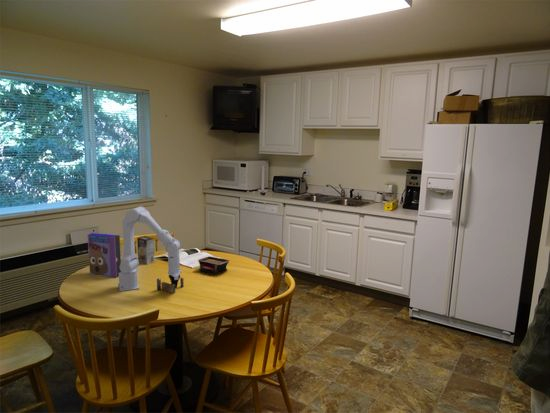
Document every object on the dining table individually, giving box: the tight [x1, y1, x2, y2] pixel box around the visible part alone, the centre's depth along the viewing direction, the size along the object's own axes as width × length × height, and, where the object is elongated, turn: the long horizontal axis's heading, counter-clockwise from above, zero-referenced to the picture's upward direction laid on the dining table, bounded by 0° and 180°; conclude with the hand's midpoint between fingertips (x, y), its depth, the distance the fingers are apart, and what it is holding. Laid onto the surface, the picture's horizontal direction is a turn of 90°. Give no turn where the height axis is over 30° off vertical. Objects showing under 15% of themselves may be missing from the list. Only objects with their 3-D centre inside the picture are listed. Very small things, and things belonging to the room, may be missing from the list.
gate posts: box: [156, 277, 184, 292], centre depth 200 cm, size 14×2×6 cm, turn 114°
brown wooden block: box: [161, 281, 176, 294], centre depth 196 cm, size 8×2×4 cm, turn 60°
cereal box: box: [86, 232, 122, 279], centre depth 216 cm, size 17×5×24 cm, turn 76°
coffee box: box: [137, 235, 155, 265], centre depth 241 cm, size 9×6×16 cm
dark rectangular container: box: [197, 255, 231, 275], centre depth 228 cm, size 14×18×10 cm
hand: (174, 288), depth 197 cm, fingers closed
